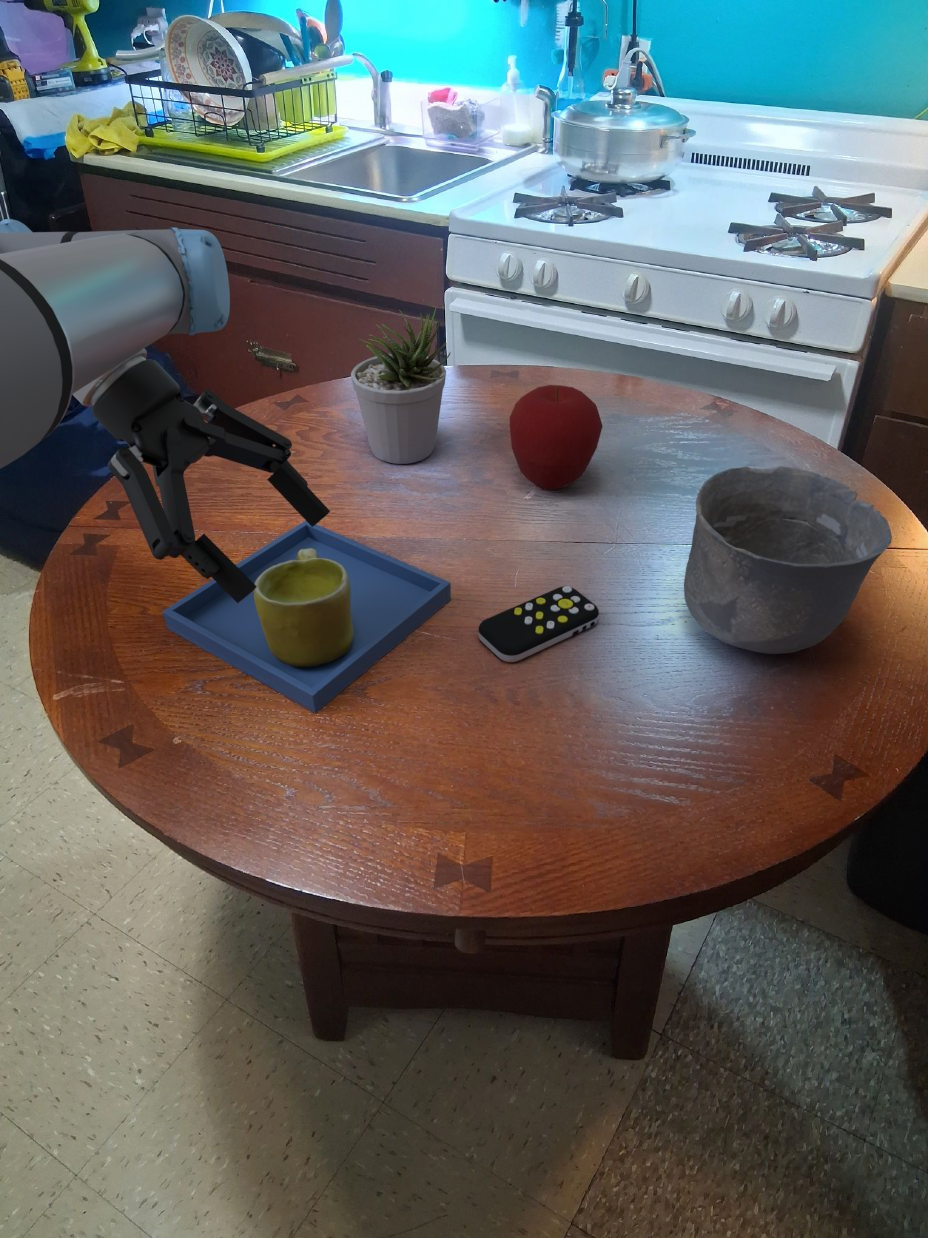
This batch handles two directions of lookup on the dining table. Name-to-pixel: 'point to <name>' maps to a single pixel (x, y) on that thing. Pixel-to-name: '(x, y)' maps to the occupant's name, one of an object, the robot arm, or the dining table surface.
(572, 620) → the remote control
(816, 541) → the grey stone bowl
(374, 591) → the blue tray
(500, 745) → the dining table surface
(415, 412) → the potted plant
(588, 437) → the apple
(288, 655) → the mug
